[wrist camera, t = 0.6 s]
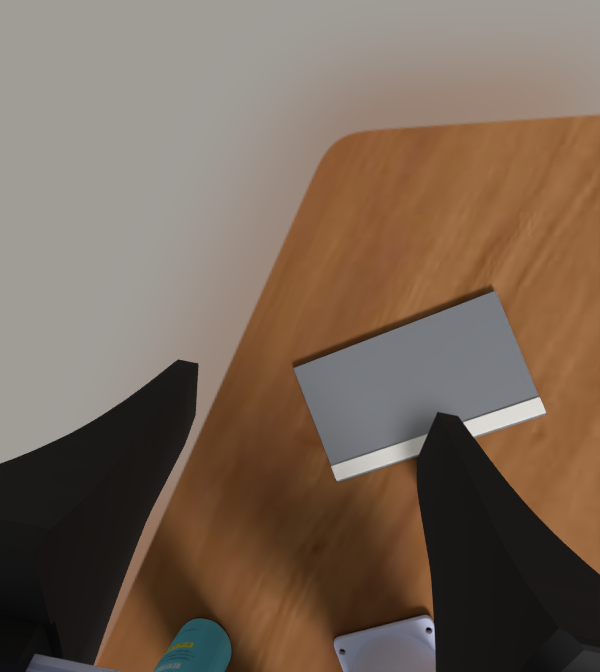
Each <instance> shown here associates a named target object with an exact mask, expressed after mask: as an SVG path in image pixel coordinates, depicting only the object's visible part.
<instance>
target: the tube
mask: <svg viewBox="0 0 600 672" xmlns="http://www.w3.org/2000/svg"><path fill="white" fill-rule="evenodd" d="M231 653H232V650H231V643H230V639H229V637H228V635H227V634H226V632H225V631H224V630H223V628H222V627H221V626H220V625H218V624H217V623H216V622H214V621H212V620H208V619H202V618H199V619H193V620H191V621H189V622H187V623H186V624H185V625H184V626H183V627H182V628H181V630H180V631H179V633H178V634H177V636H176V637H175V639H174V640H173V642H172V643H171V645H170V646H169V648H168V649H167V651H166V652H165V654H164V655H163V657H162V659H161V660H160V662H159V663H158V665H157V666H156V668H155V669H154V671H153V672H225V670H226V668H227V666H228V664H229V662H230V659H231Z"/></svg>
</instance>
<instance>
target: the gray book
mask: <svg viewBox="0 0 600 672" xmlns="http://www.w3.org/2000/svg"><path fill="white" fill-rule="evenodd" d="M294 371H295V373H296V376H297V379H298V381H299V384H300V386H301V389H302V392H303V394H304V397H305V399H306V402H307V405H308V407H309V410H310V412H311V415H312V418H313V420H314V423H315V425H316V428H317V430H318V433H319V436H320V438H321V441H322V443H323V446H324V449H325V451H326V454H327V456H328V459H329V462H330V464H331V468H332V470H333V473H334V475H335V478H336V481H337V482H340V481H343V480H347V479H350V478H353V477H356V476H359V475H362V474H365V473H368V472H371V471H374V470H377V469H380V468H383V467H387V466H390V465H393V464H396V463H399V462H402V461H405V460H408V459H411V458H414V457H417V456H418V455H419V453H420V451H421V449H422V446H423V444H424V442H425V439H426V437H427V435H428V433H429V430H430V428H431V426H432V423H433V421H434V419H435V417H436V414H437V412H441V413H446V414H451V415H456V416H458V417H459V418H460V419H461V421H462V422H463V423H464V425H465V426H466V427H467V429H468V430H469V432H470V433H471V434H472V436H473V437H474V438H476V437H479V436H482V435H485V434H488V433H491V432H494V431H497V430H501V429H504V428H507V427H510V426H513V425H516V424H519V423H522V422H525V421H528V420H531V419H534V418H538V417H541V416H544V415H546V411H545V409H544V406H543V404H542V402H541V399H540V397H539V395H538V393H537V390H536V388H535V385H534V383H533V380H532V378H531V376H530V373H529V371H528V368H527V366H526V363H525V361H524V359H523V356H522V354H521V351H520V349H519V346H518V344H517V341H516V339H515V337H514V334H513V332H512V329H511V327H510V324H509V322H508V320H507V317H506V315H505V312H504V310H503V307H502V305H501V302H500V300H499V298H498V295H497V293H496V291H493V292H490V293H488V294H485V295H483V296H480V297H477V298H475V299H472V300H470V301H467V302H464V303H462V304H459V305H457V306H454V307H451V308H449V309H446V310H444V311H441V312H438V313H436V314H433V315H431V316H428V317H425V318H423V319H420V320H418V321H415V322H412V323H410V324H407V325H405V326H402V327H399V328H397V329H394V330H392V331H389V332H386V333H384V334H381V335H379V336H376V337H373V338H371V339H368V340H366V341H363V342H360V343H358V344H355V345H353V346H350V347H347V348H345V349H342V350H340V351H337V352H334V353H332V354H329V355H327V356H324V357H321V358H319V359H316V360H313V361H311V362H308V363H306V364H303V365H300V366H298V367H295V368H294Z"/></svg>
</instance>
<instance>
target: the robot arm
mask: <svg viewBox="0 0 600 672" xmlns="http://www.w3.org/2000/svg"><path fill="white" fill-rule="evenodd" d="M197 380H198V363H193V362H187V361H183V360H177V361H176V362H174V363H173V364H172V365H170V366H169V367H168V368H167V369H165V370H164V371H163V372H162V373H160V374H159V375H158V376H157V377H155V378H154V379H153V380H151V381H150V382H149V383H148V384H146V385H145V386H144V387H142V388H141V389H140V390H138V391H137V392H136V393H134V394H133V395H131V396H130V397H129V398H127V399H126V400H124V401H123V402H122V403H120V404H118V405H117V406H116V407H114V408H112V409H111V410H109V411H108V412H107V413H105V414H103V415H102V416H100V417H98V418H97V419H95V420H94V421H92V422H90V423H88V424H87V425H85V426H83V427H82V428H80V429H78V430H76V431H74V432H72V433H70V434H69V435H66V436H64V437H62V438H60V439H58V440H56V441H54V442H52V443H49V444H47V445H45V446H43V447H41V448H38V449H36V450H34V451H32V452H29V453H27V454H24V455H22V456H19V457H17V458H14V459H12V460H9V461H6V462H4V463H1V464H0V672H122V671H117V670H112V669H107V668H103V667H98V666H93V665H94V662H95V660H96V656H97V654H98V650H99V648H100V645H101V642H102V639H103V636H104V633H105V630H106V627H107V624H108V622H109V619H110V616H111V613H112V610H113V608H114V605H115V602H116V599H117V597H118V594H119V591H120V588H121V586H122V583H123V580H124V578H125V574H126V572H127V570H128V567H129V564H130V561H131V559H132V556H133V554H134V551H135V548H136V546H137V543H138V541H139V538H140V536H141V533H142V531H143V528H144V526H145V523H146V521H147V518H148V517H149V514H150V512H151V510H152V508H153V506H154V504H155V502H156V500H157V498H158V496H159V494H160V492H161V490H162V488H163V486H164V485H165V483H166V481H167V479H168V476H169V475H170V473H171V471H172V469H173V467H174V465H175V463H176V461H177V459H178V457H179V455H180V453H181V451H182V449H183V447H184V445H185V443H186V440H187V437H188V434H189V432H190V429H191V426H192V423H193V421H194V418H195V413H196V397H197ZM417 491H418V498H419V504H420V511H421V517H422V523H423V529H424V535H425V541H426V546H427V552H428V558H429V564H430V572H431V581H432V596H433V611H434V622H433V620H432V618H431V617H430V616H428V615H422V616H418V617H414V618H410V619H406V620H402V621H398V622H394V623H390V624H386V625H382V626H378V627H374V628H371V629H367V630H363V631H359V632H355V633H351V634H347V635H343V636H339V637H337V638H335V640H334V648H335V651H336V654H337V656H338V659H339V661H340V664H341V667H342V669H343V672H600V574H598V573H597V572H596V571H595V570H594V569H592V568H591V567H590V566H589V565H588V564H587V563H585V562H584V561H583V560H582V559H581V558H580V557H579V556H578V555H577V554H575V553H574V552H573V551H572V550H571V549H570V548H569V547H568V546H567V545H566V544H564V543H563V542H562V541H561V540H560V539H559V538H558V537H557V536H556V535H555V534H554V533H553V532H552V531H551V530H550V529H549V528H548V527H547V526H546V525H545V524H544V523H543V522H542V521H541V520H540V519H539V518H538V516H537V515H536V514H535V513H534V512H533V511H532V510H531V509H530V508H529V507H528V506H527V505H526V503H525V502H524V501H523V500H522V499H521V498H520V497H519V495H518V494H517V493H516V492H515V491H514V489H513V488H512V487H511V486H510V485H509V483H508V482H507V481H506V480H505V478H504V477H503V476H502V475H501V473H500V472H499V471H498V470H497V468H496V467H495V466H494V464H493V463H492V462H491V460H490V459H489V458H488V456H487V455H486V454H485V452H484V451H483V450H482V448H481V447H480V445H479V444H478V443H477V441H476V440H475V439H474V437H473V436H472V434H471V433H470V432H469V430H468V429H467V427H466V426H465V425H464V423H463V422H462V421H461V419H460V418H459V417H458V416H456V415H451V414H446V413H441V412H437V414H436V417H435V419H434V421H433V423H432V426H431V428H430V430H429V433H428V435H427V437H426V439H425V442H424V444H423V446H422V449H421V451H420V453H419V455H418V458H417ZM427 627H430V628H431V630H430V631H428V630H426V628H427ZM340 649H344V650H345V652H342V651H340Z"/></svg>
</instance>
